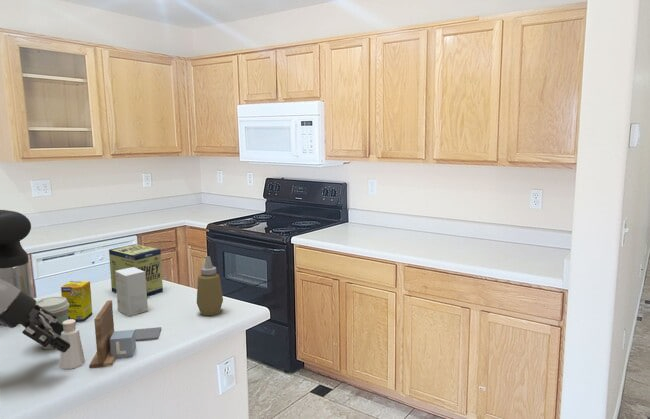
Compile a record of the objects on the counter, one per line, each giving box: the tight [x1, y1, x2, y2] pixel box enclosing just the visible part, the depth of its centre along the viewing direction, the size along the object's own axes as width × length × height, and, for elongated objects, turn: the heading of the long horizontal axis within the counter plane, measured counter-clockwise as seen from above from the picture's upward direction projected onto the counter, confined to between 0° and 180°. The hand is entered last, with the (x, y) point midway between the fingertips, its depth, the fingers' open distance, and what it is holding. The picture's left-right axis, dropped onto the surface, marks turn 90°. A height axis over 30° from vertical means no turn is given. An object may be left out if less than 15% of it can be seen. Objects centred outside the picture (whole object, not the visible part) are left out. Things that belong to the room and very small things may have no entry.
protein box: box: [108, 243, 164, 298], centre depth 165 cm, size 10×16×16 cm
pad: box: [134, 326, 162, 342], centre depth 130 cm, size 7×7×1 cm
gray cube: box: [110, 329, 137, 359], centre depth 119 cm, size 5×5×5 cm
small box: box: [115, 267, 149, 317], centre depth 147 cm, size 8×6×13 cm
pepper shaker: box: [59, 319, 86, 370], centre depth 113 cm, size 5×5×11 cm
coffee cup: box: [36, 296, 69, 350], centre depth 123 cm, size 9×9×12 cm
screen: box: [89, 299, 117, 369], centre depth 118 cm, size 5×13×12 cm, turn 13°
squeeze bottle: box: [196, 255, 224, 316], centre depth 145 cm, size 8×8×18 cm
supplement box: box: [60, 280, 93, 323], centre depth 141 cm, size 6×6×11 cm
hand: (68, 341), depth 112 cm, fingers open, 8 cm apart
